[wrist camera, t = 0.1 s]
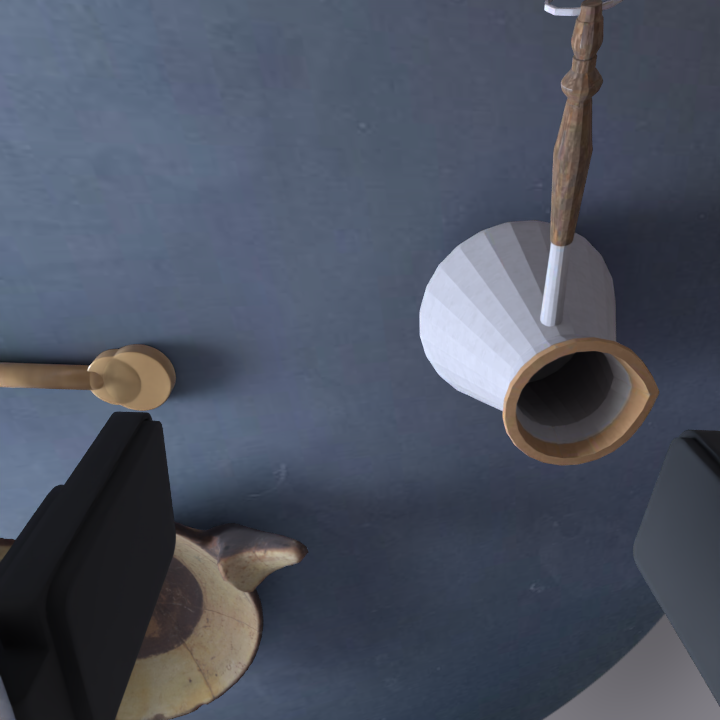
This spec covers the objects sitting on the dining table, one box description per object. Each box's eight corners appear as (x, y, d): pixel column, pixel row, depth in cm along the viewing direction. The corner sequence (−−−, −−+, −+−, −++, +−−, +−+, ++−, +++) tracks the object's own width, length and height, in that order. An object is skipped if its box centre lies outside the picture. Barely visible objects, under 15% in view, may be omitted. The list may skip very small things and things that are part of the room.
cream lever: (-65, 395, 38) (-81, 407, 37) (-85, 335, 36) (-102, 346, 35) (179, 402, 39) (172, 415, 37) (172, 344, 37) (165, 356, 35)
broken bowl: (-85, 516, 43) (-167, 600, 36) (293, 425, 40) (282, 498, 33) (61, 692, 53) (18, 784, 46) (372, 629, 50) (376, 718, 43)
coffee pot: (595, 363, 38) (730, 519, 25) (426, 392, 39) (469, 560, 26) (594, -5, 29) (813, -72, 15) (371, 44, 29) (392, 20, 16)
